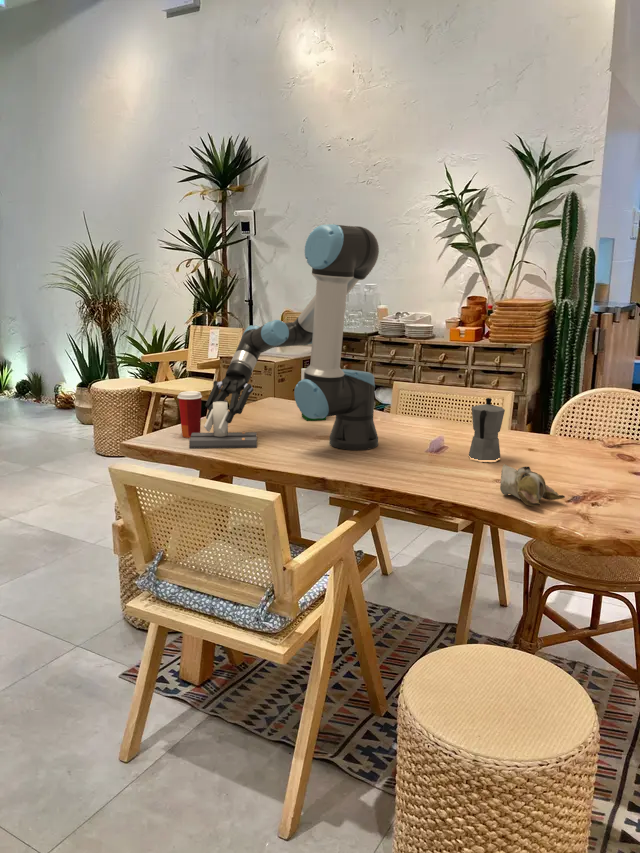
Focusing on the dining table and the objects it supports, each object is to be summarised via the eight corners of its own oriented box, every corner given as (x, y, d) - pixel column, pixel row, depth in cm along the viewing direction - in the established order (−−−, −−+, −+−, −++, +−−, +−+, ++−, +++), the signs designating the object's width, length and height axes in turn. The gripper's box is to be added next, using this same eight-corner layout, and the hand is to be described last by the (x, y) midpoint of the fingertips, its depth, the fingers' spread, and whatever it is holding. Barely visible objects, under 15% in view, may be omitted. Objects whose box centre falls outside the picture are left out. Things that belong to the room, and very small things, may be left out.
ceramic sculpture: (518, 454, 168) (570, 473, 157) (514, 487, 171) (565, 507, 159) (489, 461, 162) (541, 481, 151) (485, 495, 165) (536, 517, 153)
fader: (228, 439, 210) (227, 401, 207) (227, 442, 206) (227, 404, 203) (214, 439, 209) (213, 401, 207) (213, 442, 205) (212, 404, 202)
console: (256, 439, 214) (256, 431, 213) (256, 447, 204) (256, 439, 203) (192, 440, 212) (191, 432, 211) (189, 448, 202) (189, 440, 201)
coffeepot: (472, 451, 204) (476, 392, 200) (504, 455, 200) (509, 395, 196) (461, 464, 190) (465, 401, 186) (495, 468, 187) (500, 404, 183)
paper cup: (206, 433, 220) (205, 391, 217) (199, 439, 213) (198, 395, 210) (182, 432, 221) (181, 390, 218) (175, 438, 214) (173, 394, 210)
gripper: (269, 377, 214) (243, 439, 203) (221, 373, 221) (194, 433, 210) (261, 362, 208) (234, 426, 197) (212, 359, 215) (184, 420, 204)
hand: (214, 429), depth 203 cm, fingers closed on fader, 4 cm apart
